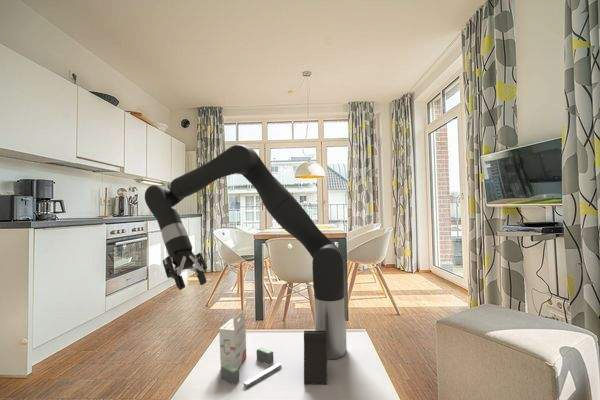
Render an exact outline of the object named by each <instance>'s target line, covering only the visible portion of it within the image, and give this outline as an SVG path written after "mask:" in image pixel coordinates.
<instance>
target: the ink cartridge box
mask: <svg viewBox="0 0 600 400" xmlns="http://www.w3.org/2000/svg"><path fill="white" fill-rule="evenodd" d="M218 331H219V332H218V333H219V355H220V356H219V358H220V368H221V367H223V366H225V365H227V364H228V365H230V366H232V367H234V368H236V369H238V370H239V367H240V366H241V365H242V364H243V362H244V361H245V359H246V358H247V334H246V332H247V330H246V315H245V309H242V311H240V312H239V313H238V314H237V315H236V316H235V317H233V318H230V319H229V320H228V321H226V322H225V323H224V324H223V325H222V326H220V327H219V329H218Z"/></svg>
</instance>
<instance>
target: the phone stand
mask: <svg viewBox="0 0 600 400" xmlns="http://www.w3.org/2000/svg"><path fill="white" fill-rule="evenodd" d="M303 384H304V385H328V359H327V344H326V331H315V330H303Z"/></svg>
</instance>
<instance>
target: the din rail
mask: <svg viewBox="0 0 600 400" xmlns="http://www.w3.org/2000/svg"><path fill="white" fill-rule="evenodd" d="M281 369H282V363H280V362H277V363H276V364H274V365H272V366H271V367H268V368H267V369H265V370H263V371H262V372H260V373H258V374H257V375H255V376H253V377H252V378H250V379H248V380H246V381H244V382H243V387H244V388H246V389H248V388H250V387H252V386H253V385H255V384H257V383H258V382H260V381H261V380H263V379H265V378H267V377H268V376H270V375H272V374H273V373H275V372H277V371H278V370H281Z"/></svg>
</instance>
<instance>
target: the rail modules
mask: <svg viewBox="0 0 600 400" xmlns="http://www.w3.org/2000/svg"><path fill="white" fill-rule="evenodd" d="M256 361H258V362H262V363H264V364H266V365H268V366H269V365H271V364H273V363H274V361H275V360H274V351H272V350H269V349H267V348H264V347H259V348H257V349H256ZM220 372H221V376H220V377H221V379H222V380H224V381H226V382H228V383H229V384H232V385H235V384H238V383H239V382H240V370H239V368H238V369H236V368H234V367H232V366H230V365H228V364H227V365H225V366H223V367H221V366H220Z"/></svg>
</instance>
